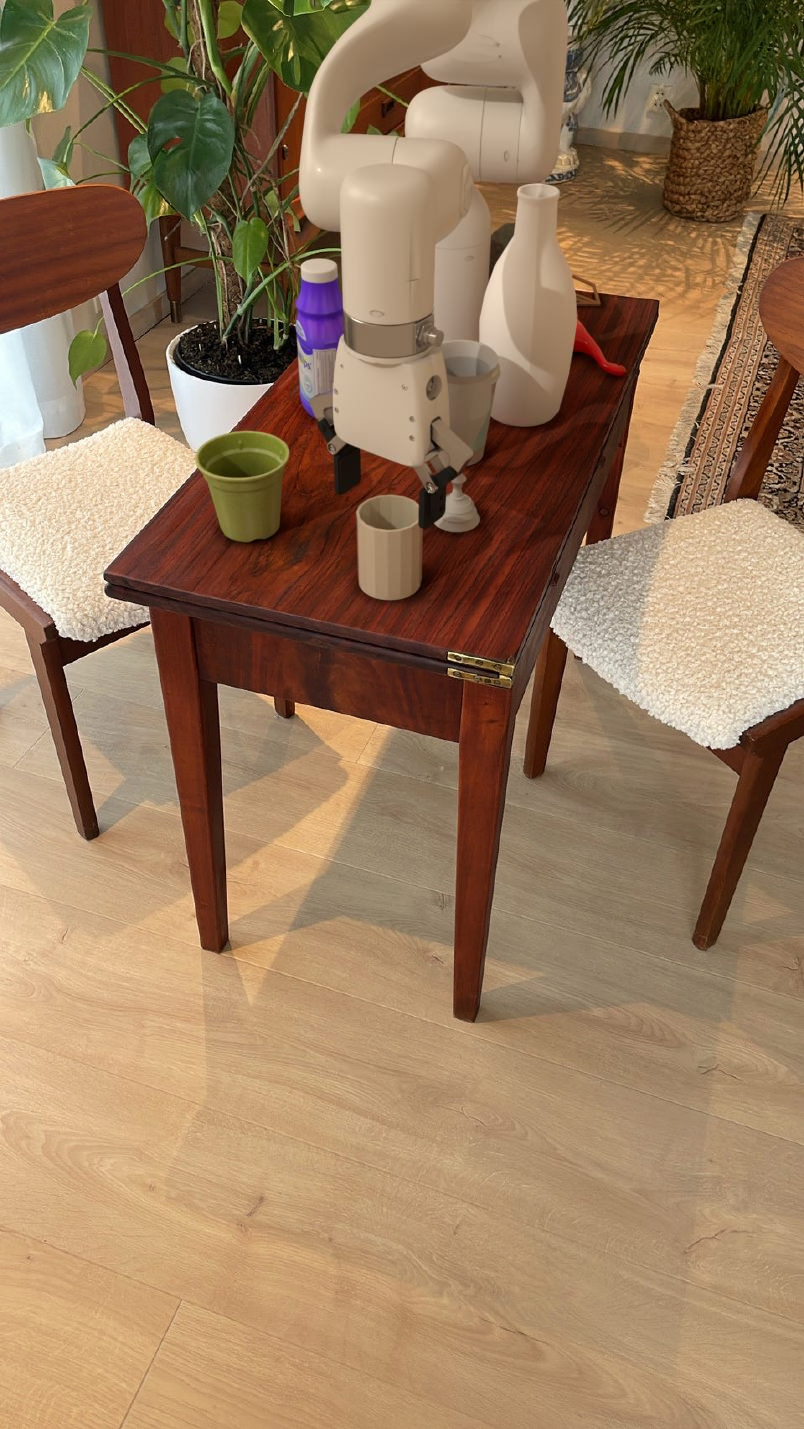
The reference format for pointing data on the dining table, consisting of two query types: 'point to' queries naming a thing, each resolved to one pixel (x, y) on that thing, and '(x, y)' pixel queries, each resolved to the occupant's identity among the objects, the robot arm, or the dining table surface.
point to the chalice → (466, 418)
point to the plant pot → (245, 482)
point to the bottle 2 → (531, 314)
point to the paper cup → (389, 547)
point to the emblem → (584, 300)
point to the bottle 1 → (318, 328)
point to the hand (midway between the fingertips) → (388, 504)
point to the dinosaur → (594, 350)
